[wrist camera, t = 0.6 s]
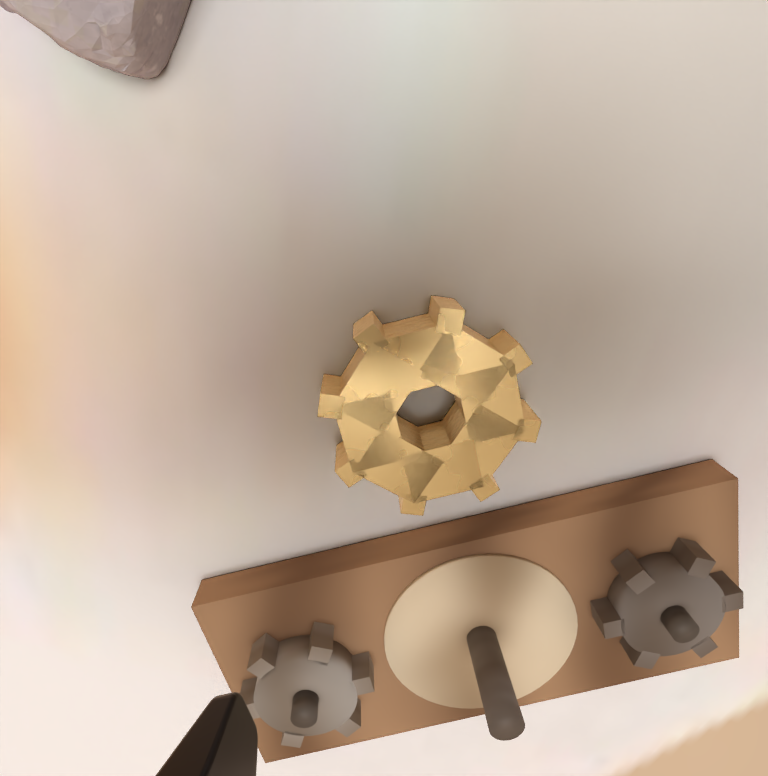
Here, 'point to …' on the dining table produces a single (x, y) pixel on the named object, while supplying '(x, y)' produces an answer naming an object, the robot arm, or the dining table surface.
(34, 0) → the stone block
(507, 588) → the gear board
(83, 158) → the dining table surface
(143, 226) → the dining table surface
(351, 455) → the wooden gear
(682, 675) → the dining table surface
